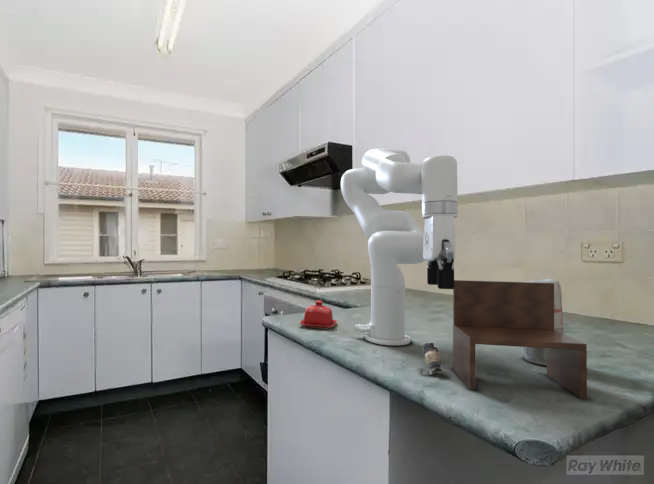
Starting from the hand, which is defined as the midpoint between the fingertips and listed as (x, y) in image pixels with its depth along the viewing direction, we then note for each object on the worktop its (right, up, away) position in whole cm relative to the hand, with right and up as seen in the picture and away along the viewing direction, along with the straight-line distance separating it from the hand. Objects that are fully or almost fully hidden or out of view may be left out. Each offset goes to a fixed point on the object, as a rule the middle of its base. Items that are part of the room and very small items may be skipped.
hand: (439, 286), depth 84 cm
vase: (-3, -19, -2) cm, 19 cm away
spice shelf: (+12, -19, -8) cm, 23 cm away
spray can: (+27, -19, +5) cm, 34 cm away
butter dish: (-23, -19, +41) cm, 51 cm away
